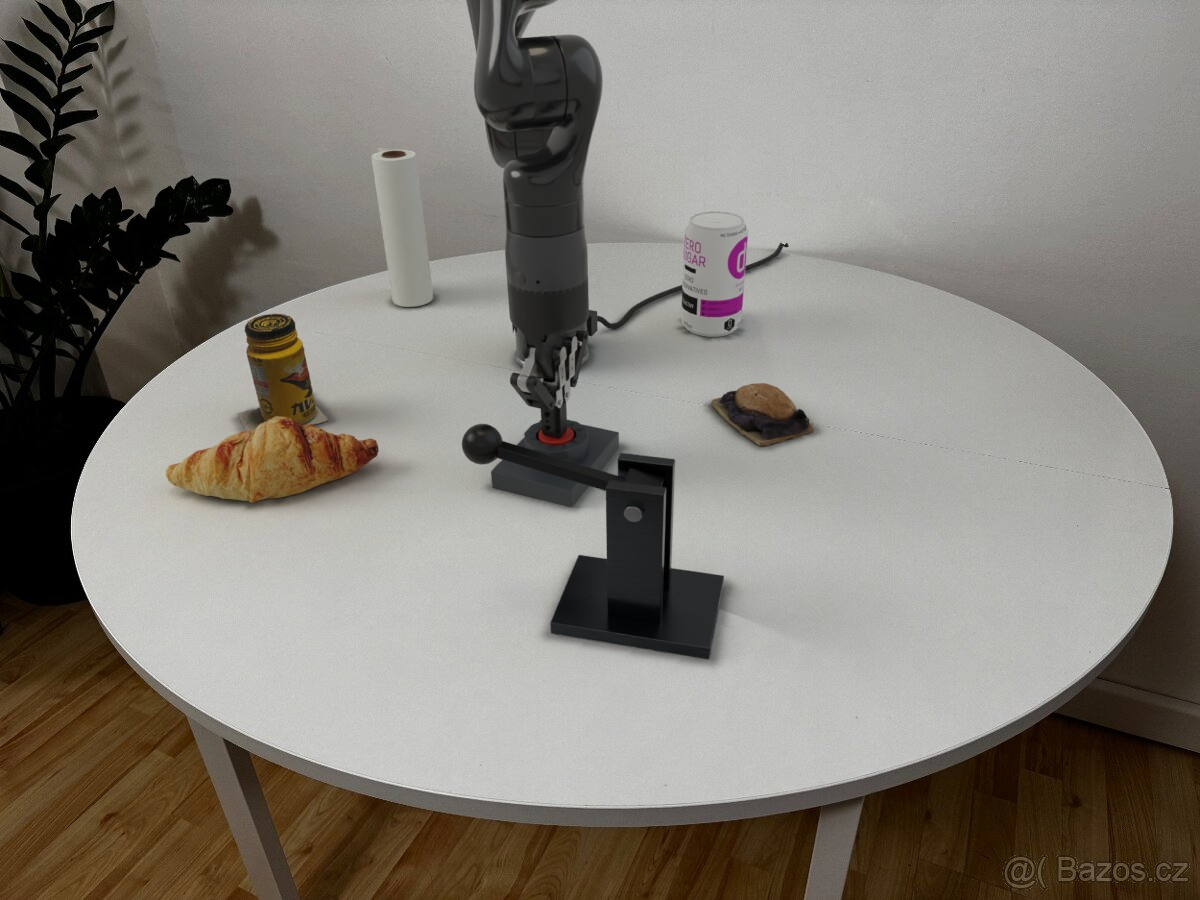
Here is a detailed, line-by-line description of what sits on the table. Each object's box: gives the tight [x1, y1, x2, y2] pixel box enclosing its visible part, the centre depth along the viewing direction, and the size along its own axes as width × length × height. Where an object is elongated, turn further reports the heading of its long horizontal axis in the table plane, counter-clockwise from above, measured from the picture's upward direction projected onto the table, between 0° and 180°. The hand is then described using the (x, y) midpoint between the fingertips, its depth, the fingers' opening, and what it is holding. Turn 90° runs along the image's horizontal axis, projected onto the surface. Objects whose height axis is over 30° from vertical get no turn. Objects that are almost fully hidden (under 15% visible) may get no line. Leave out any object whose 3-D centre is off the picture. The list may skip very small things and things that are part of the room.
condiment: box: [236, 313, 329, 431], centre depth 100 cm, size 7×8×12 cm
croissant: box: [165, 416, 380, 504], centre depth 91 cm, size 21×10×8 cm, turn 102°
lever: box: [461, 423, 664, 492], centre depth 70 cm, size 16×3×3 cm, turn 76°
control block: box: [490, 419, 620, 508], centre depth 93 cm, size 12×9×4 cm
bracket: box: [549, 452, 725, 660], centre depth 72 cm, size 13×9×14 cm
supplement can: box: [680, 210, 749, 338], centre depth 119 cm, size 8×8×15 cm
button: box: [539, 427, 574, 446], centre depth 92 cm, size 4×4×2 cm
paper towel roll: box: [371, 147, 434, 308], centre depth 128 cm, size 7×6×21 cm
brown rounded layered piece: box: [710, 382, 815, 447], centre depth 101 cm, size 11×8×4 cm
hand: (554, 433), depth 92 cm, fingers closed
